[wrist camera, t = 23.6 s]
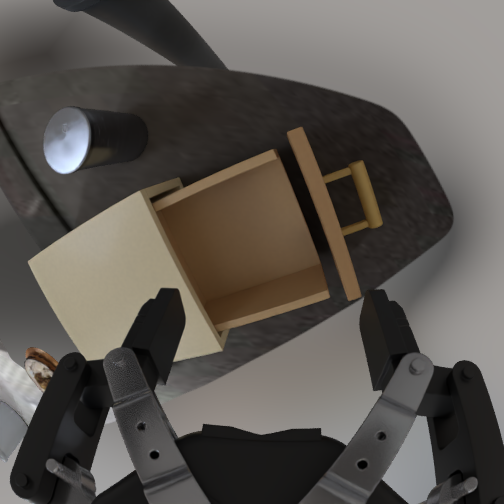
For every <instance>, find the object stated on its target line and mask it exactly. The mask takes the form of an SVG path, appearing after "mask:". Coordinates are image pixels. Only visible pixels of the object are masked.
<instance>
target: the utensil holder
mask: <svg viewBox="0 0 504 504" xmlns="http://www.w3.org/2000/svg"><path fill="white" fill-rule="evenodd" d="M27 429H28V427H27V425H26V424H25V422H24V421H23V420H22V418H21V417H20V416H19V415H18V414H17V413H16V412H15V411H14V410H13V409H12V408H11V407H10V406H9V405H7V404H6V403H4V402H2V401H1V402H0V459H1V460H2V461H4V462H7V461H8V458H9V456H10V455H11V454H12V452H13V451H14V450H15V448H16V447H17V445H18V444H19V443H20V441H21V440H22V438H23V437H24V436H25V434H26V432H27Z"/></svg>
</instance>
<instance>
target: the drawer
mask: <svg viewBox="0 0 504 504" xmlns="http://www.w3.org/2000/svg"><path fill="white" fill-rule="evenodd" d="M287 138H288V140H289V143H290V145H291V148H292V150H293V152H294V155H295V157H296V160H297V162H298V164H299V167H300V169H301V172H302V174H303V177H304V179H305V182H306V185H307V187H308V190H309V192H310V195H311V197H312V200H313V203H314V205H315V208H316V211H317V213H318V216H319V219H320V222H321V224H322V227H323V230H324V233H325V236H326V238H327V241H328V244H329V247H330V250H331V253H332V256H333V259H334V262H335V265H336V268H337V271H338V273H339V276H340V279H341V281H342V284H343V287H344V290H345V292H346V295H347V298H348V301H350V300H353V299H356V298H359V297H361V293H360V289H359V285H358V282H357V279H356V275H355V272H354V268H353V265H352V262H351V259H350V255H349V252H348V249H347V246H346V243H345V240H344V237H343V236H345V235H348V234H350V233H353V232H356V231H358V230H361V229H364V228H367V227H369V228H377V227H379V226H381V225H382V224H383V222H382V219H381V215H380V212H379V208H378V205H377V202H376V198H375V195H374V192H373V189H372V186H371V183H370V180H369V177H368V174H367V171H366V168H365V165H364V162H363V160H360V161H356V162H353V163H351V164H349V165H348V166H349V167H347V168H344V169H341V170H339V171H336V172H333V173H330V174H328V175H325V176H322V175H321V172H320V169H319V167H318V164H317V162H316V159H315V157H314V154H313V152H312V149H311V147H310V144H309V142H308V140H307V137H306V135H305V132H304V130H303V128H302V127H299V128H296V129H293V130H291V131H288V132H287ZM350 174H351V175H352V177H353V180H354V183H355V186H356V189H357V192H358V195H359V198H360V201H361V204H362V207H363V210H364V214H365V217H366V219H365V220H362V221H360V222H357V223H354V224H352V225H349V226H346V227H343V228H341V227H340V224H339V222H338V219H337V216H336V213H335V210H334V207H333V204H332V202H331V199H330V196H329V193H328V191H327V188H326V185H325V183H328V182H331V181H333V180H336V179H339V178H342V177H345V176H347V175H350ZM152 206H153V208H154V210H155V212H156V215H157V217H158V219H159V221H160V223H161V225H162V227H163V229H164V231H165V233H166V235H167V238H168V240H169V242H170V244H171V246H172V248H173V250H174V252H175V254H176V256H177V258H178V260H179V262H180V264H181V266H182V268H183V270H184V271H185V273H186V275H187V277H188V279H189V281H190V283H191V285H192V287H193V289H194V291H195V293H196V294H197V296H198V298H199V300H200V302H201V304H202V306H203V307H204V309H205V311H206V313H207V315H208V317H209V318H210V320H211V322H212V324H213V326H214V327H215V329H216V331H217V332H219V331H223V330H227V329H230V328H234V327H237V326H241V325H244V324H248V323H251V322H255V321H258V320H261V319H265V318H268V317H271V316H275V315H278V314H281V313H284V312H288V311H291V310H294V309H297V308H300V307H303V306H306V305H309V304H312V303H315V302H318V301H321V300H324V299H327V298H330V295H329V291H328V287H327V283H326V279H325V275H324V271H323V268H322V265H321V262H320V259H319V256H318V253H317V251H316V248H315V245H314V242H313V240H312V237H311V234H310V232H309V229H308V226H307V224H306V221H305V218H304V216H303V213H302V211H301V208H300V205H299V203H298V200H297V198H296V195H295V193H294V190H293V188H292V185H291V183H290V180H289V178H288V175H287V173H286V171H285V168H284V166H283V163H282V161H281V159H280V156H279V154H278V151H277V149H272V150H269V151H267V152H264V153H262V154H259V155H257V156H254V157H252V158H250V159H247V160H245V161H242V162H240V163H238V164H235V165H233V166H231V167H228V168H226V169H224V170H222V171H219V172H217V173H215V174H213V175H210V176H208V177H206V178H204V179H202V180H200V181H197V182H195V183H193V184H191V185H189V186H187V187H185V188H183V189H180V190H178V191H176V192H174V193H172V194H170V195H168V196H166V197H164V198H162V199H160V200H158V201H156V202H154V203H152Z"/></svg>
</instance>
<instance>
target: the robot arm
mask: <svg viewBox="0 0 504 504" xmlns="http://www.w3.org/2000/svg"><path fill="white" fill-rule="evenodd" d="M185 324H186V315H185V311H184V307H183V303H182V299H181V295H180V291H179V289H178V288H160V290H159V292H158V294H157V296H156V298H155V299H152V298H150V299H149V300H148V301H147V302H146V303H144V304H143V305H142V307H141V309H140V310H139V312H138V316H136V318H135V320H134V323H133V324H132V326H131V328H130V330H129V332H128V334H127V336H126V338H125V339H124V341H123V343H122V345H121V347H119V348H115V349H113V350H111V351H110V352H109V353H108V354H107V355H106V356H105V358H104V359H99V360H90V361H87V360H86V359H85V357H84V356H83V355H82V354H81V353H77V352H73V353H69V354H67V355H65V356H64V357H63V358H62V359H61V360H60V362H59V363H58V365H57V367H56V369H55V371H54V373H53V375H52V377H51V379H50V381H49V383H48V385H47V387H46V389H45V391H44V393H43V395H42V397H41V400H40V402H39V404H38V406H37V408H36V411H35V413H34V415H33V417H32V420H31V422H30V424H29V427H28V429H27V432H26V434H25V437H24V439H23V442H22V444H21V447H20V449H19V452H18V455H17V458H16V460H15V463H14V466H13V469H12V472H11V475H10V484H11V487H12V490H13V491H14V492H15V494H16V495H18V496H19V497H20V498H22V499H24V500H26V501H28V502H31V503H32V504H408V503H407V502H406V501H405V500H404V499H403V498H402V497H400V496H399V495H398V494H397V493H396V492H395V491H393V489H392V488H391V487H389V486H388V485H387V484H386V483H385V482H384V481H383V480H382V477H383V475H384V474H385V472H386V471H387V469H388V468H389V466H390V464H391V462H392V461H393V459H394V458H395V456H396V454H397V453H398V451H399V449H400V447H401V445H402V444H403V442H404V440H405V438H406V436H407V434H408V432H409V431H410V429H411V427H412V424H413V422H414V421H415V418H416V416H417V415H419V416H426V417H427V422H428V427H429V433H430V439H431V445H432V452H433V459H434V466H435V475H436V485H437V486H436V487H434V488H433V489H432V490H431V492H430V493H429V495H428V498H427V504H504V445H503V441H502V438H501V433H500V429H499V426H498V422H497V419H496V415H495V412H494V409H493V406H492V402H491V399H490V396H489V393H488V391H487V388H486V385H485V382H484V379H483V376H482V374H481V371H480V369H479V368H478V367H477V365H475V364H474V363H472V362H470V361H465V360H463V361H459V362H457V363H456V364H455V365H454V367H453V368H445V367H439V366H434V365H433V363H432V361H431V360H430V359H429V358H428V357H427V356H425V355H423V354H421V353H420V351H419V348H418V346H417V343H416V340H415V338H414V335H413V333H412V330H411V328H410V327H409V323H408V320H407V319H406V315H405V313H404V311H403V308H402V307H401V306H400V305H398V303H397V302H395V301H389V300H388V297H387V295H386V292H385V290H383V289H380V290H367V291H366V293H365V297H364V302H363V307H362V310H361V315H360V324H359V325H360V332H361V336H362V341H363V345H364V349H365V353H366V358H367V362H368V367H369V372H370V376H371V381H372V386H373V391H378V390H382V395H381V396H380V397H379V399H378V400H377V402H376V403H375V405H374V407H373V408H372V410H371V411H370V413H369V414H368V416H367V418H366V419H365V421H364V422H363V424H362V425H361V427H360V428H359V429H358V431H357V432H356V434H355V435H354V437H353V438H352V440H351V441H350V442H349V444H348V445H347V446H346V445H345V444H343V443H342V442H340V441H338V440H336V439H333V438H330V437H327V436H322V435H321V428H313V429H290V430H285V431H280V432H275V433H271V434H265V435H259V434H254V433H251V432H248V431H244V430H241V429H237V428H234V427H230V426H219V425H209V424H203V428H202V431H198V432H193V433H190V434H187V435H184V436H182V437H180V438H178V437H177V435H176V433H175V431H174V430H173V428H172V426H171V424H170V422H169V420H168V418H167V417H166V414H165V413H164V411H163V408H162V406H161V404H160V402H159V400H158V398H157V396H156V394H155V392H154V390H155V387H156V384H159V385H166V382H167V379H168V376H169V373H170V370H171V367H172V364H173V361H174V358H175V355H176V352H177V349H178V346H179V343H180V340H181V337H182V334H183V331H184V329H185ZM110 407H112V409H113V412H114V415H115V418H116V421H117V423H118V427H119V429H120V432H121V434H122V437H123V439H124V442H125V445H126V448H127V450H128V453H129V455H130V457H131V460H132V462H133V464H134V467H135V469H136V470H134V471H133V472H131V473H130V474H129V475H127V476H126V477H124V478H123V479H121V480H120V481H119V482H117V483H116V484H114V485H113V486H111V487H110V488H108V489H107V490H105V491H104V492H102V493H100V494H99V495H98V496H97V497H96V495H95V492H96V487H95V480H94V477H93V475H92V474H91V473H90V470H91V467H92V463H93V460H94V456H95V453H96V449H97V445H98V443H99V440H100V436H101V433H102V430H103V427H104V424H105V421H106V418H107V415H108V412H109V409H110Z"/></svg>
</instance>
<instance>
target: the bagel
mask: <svg viewBox="0 0 504 504" xmlns="http://www.w3.org/2000/svg"><path fill="white" fill-rule="evenodd" d="M57 365H58V362H57V361H56V360H55V359H54V358H53V357H51V356H50V355H49V354H47V353H46V352H44V351H43V350H41V349H38V348H34V347H30V348H28V349H27V351H26V361H25V369H26V372H27V374H28V375H29V377H30V378H31V379H32V381H33V382H34V383H35V384H36V386H37V387H38V388H39V389H40V390H41V391H42V392H43V393H44V391H45V389H46V387H47V385H48V383H49V381H50V379H51V377H52V375H53V373H54V371H55V369H56V367H57Z"/></svg>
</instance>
